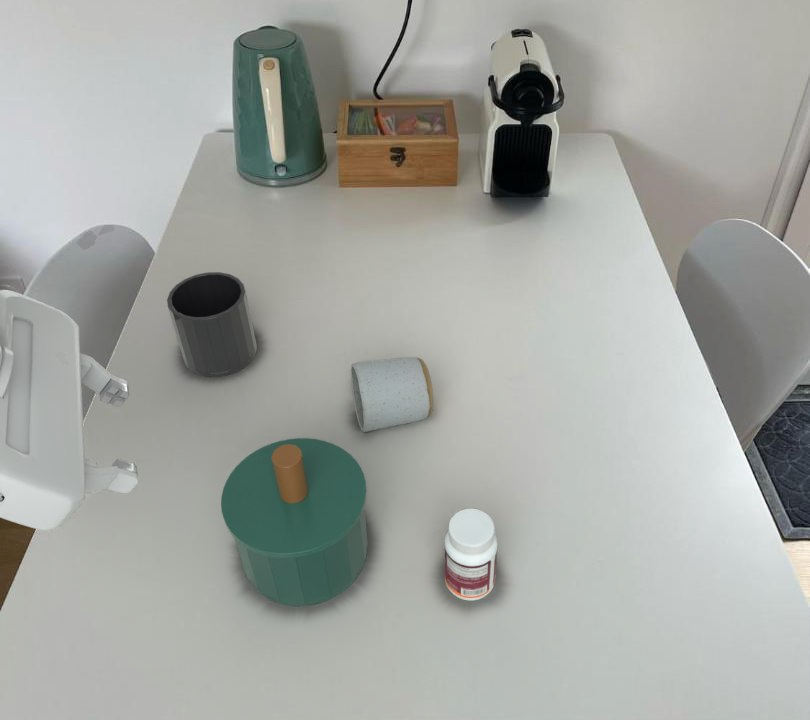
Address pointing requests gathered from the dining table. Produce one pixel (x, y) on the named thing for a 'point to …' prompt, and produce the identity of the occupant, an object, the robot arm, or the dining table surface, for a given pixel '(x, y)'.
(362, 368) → the ceramic mug
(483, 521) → the pill bottle
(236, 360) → the cup
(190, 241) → the dining table surface
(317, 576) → the tin
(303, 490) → the tin lid
